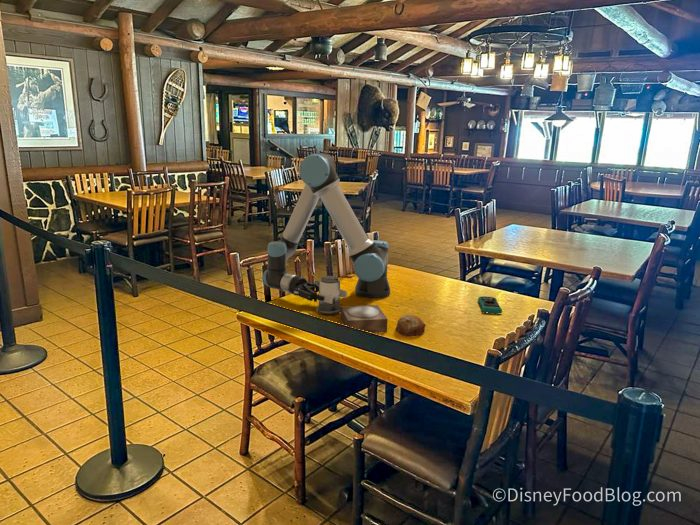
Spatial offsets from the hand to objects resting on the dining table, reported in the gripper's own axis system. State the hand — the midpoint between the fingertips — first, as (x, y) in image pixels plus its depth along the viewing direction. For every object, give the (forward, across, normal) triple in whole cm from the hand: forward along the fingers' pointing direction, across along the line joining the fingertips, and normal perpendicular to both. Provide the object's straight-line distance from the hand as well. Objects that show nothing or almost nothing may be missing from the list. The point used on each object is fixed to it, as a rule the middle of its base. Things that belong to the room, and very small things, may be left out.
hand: (339, 297), depth 188 cm
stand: (+13, +3, -7) cm, 15 cm away
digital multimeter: (+41, -47, -8) cm, 63 cm away
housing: (-5, 0, -6) cm, 8 cm away
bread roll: (+29, -4, -7) cm, 30 cm away
